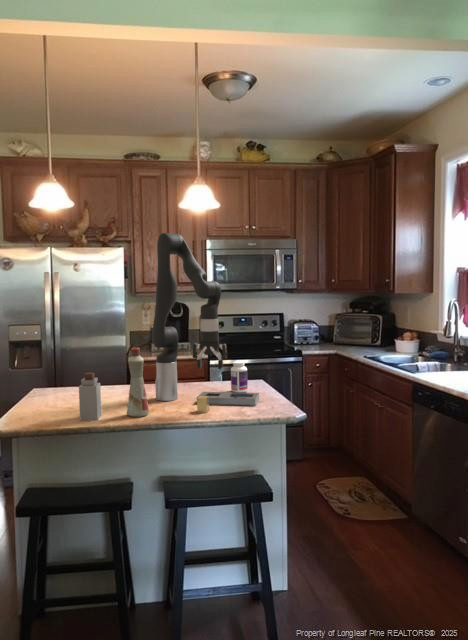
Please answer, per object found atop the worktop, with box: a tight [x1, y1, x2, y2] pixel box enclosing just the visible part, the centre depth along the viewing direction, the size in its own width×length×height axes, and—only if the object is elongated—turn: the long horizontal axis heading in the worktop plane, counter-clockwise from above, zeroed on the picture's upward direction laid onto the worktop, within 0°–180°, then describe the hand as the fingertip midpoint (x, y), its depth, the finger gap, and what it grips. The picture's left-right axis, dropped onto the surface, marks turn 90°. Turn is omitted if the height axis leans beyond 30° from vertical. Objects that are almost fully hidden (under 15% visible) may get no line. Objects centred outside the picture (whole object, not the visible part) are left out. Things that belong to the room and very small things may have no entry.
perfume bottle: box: [78, 372, 102, 421], centre depth 203 cm, size 7×7×18 cm
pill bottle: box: [230, 360, 249, 393], centre depth 249 cm, size 8×8×14 cm
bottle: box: [126, 346, 150, 418], centre depth 206 cm, size 9×9×28 cm
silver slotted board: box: [196, 391, 260, 407], centre depth 228 cm, size 26×12×3 cm, turn 79°
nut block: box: [196, 395, 210, 414], centre depth 211 cm, size 4×4×6 cm
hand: (210, 368), depth 212 cm, fingers open, 8 cm apart
